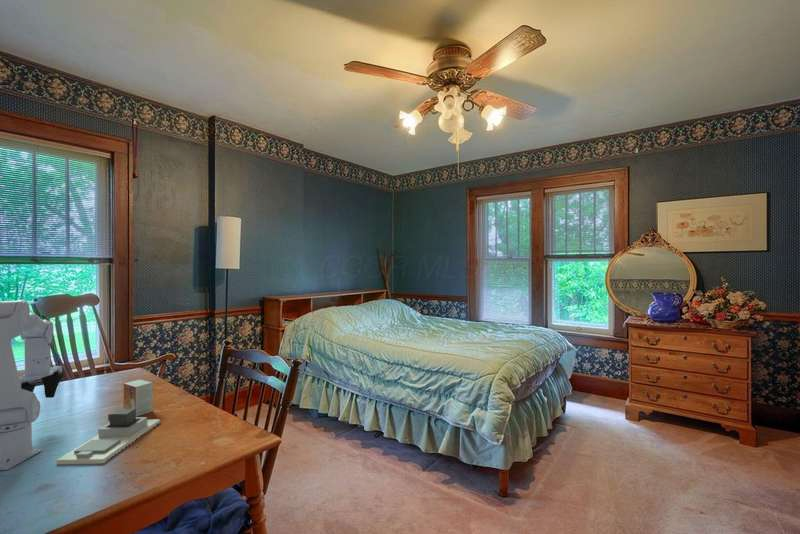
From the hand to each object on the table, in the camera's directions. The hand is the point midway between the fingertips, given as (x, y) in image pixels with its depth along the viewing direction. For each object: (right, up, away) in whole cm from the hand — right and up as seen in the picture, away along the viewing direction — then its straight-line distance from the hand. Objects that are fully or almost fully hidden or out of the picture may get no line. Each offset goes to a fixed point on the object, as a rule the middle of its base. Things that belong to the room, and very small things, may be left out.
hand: (38, 401), depth 114 cm
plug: (+28, -8, -2) cm, 29 cm away
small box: (+21, -9, +15) cm, 27 cm away
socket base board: (+28, -10, -6) cm, 30 cm away
